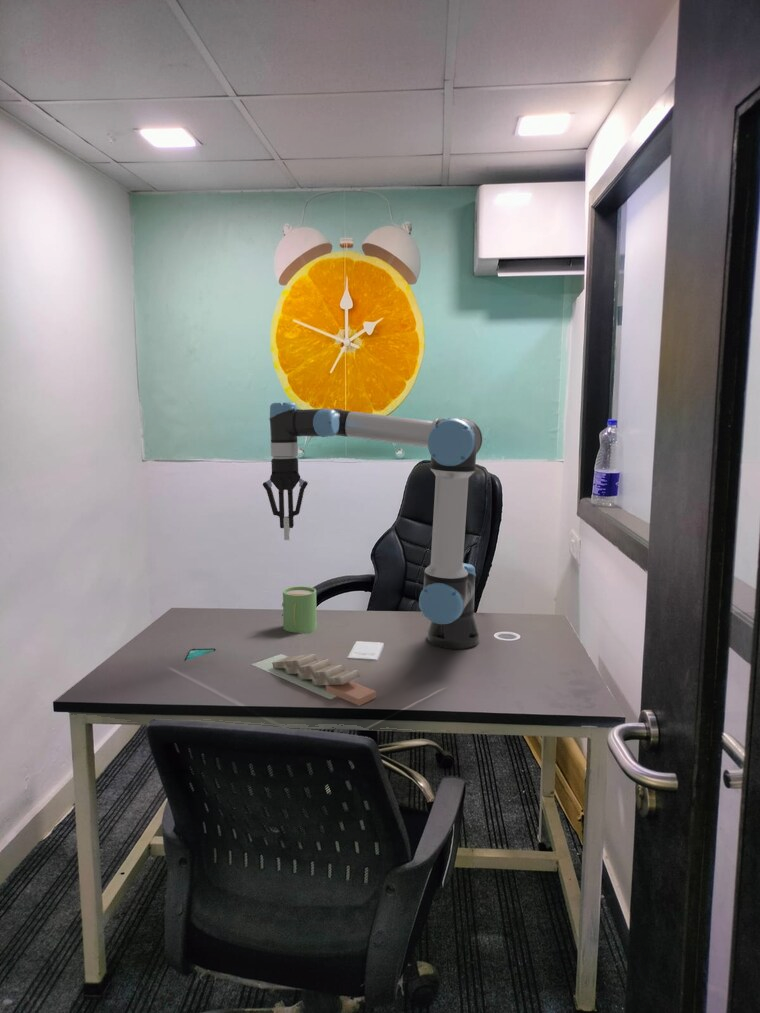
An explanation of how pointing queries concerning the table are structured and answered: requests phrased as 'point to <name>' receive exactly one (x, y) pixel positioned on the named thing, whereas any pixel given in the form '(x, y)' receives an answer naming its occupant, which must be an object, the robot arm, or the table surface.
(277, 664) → the domino
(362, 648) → the external hard drive
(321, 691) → the board
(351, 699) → the domino
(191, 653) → the smartphone
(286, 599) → the mug
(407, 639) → the table surface
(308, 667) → the domino
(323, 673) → the domino
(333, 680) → the domino
